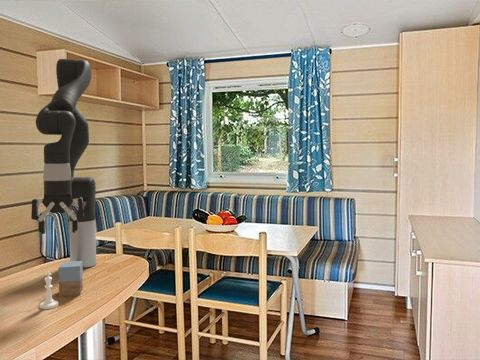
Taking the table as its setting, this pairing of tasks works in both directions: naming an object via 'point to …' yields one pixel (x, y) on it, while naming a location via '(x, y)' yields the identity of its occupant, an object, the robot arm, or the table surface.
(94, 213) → the robot arm
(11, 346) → the table surface
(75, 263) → the slate-blue block
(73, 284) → the walnut block
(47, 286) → the chess piece
